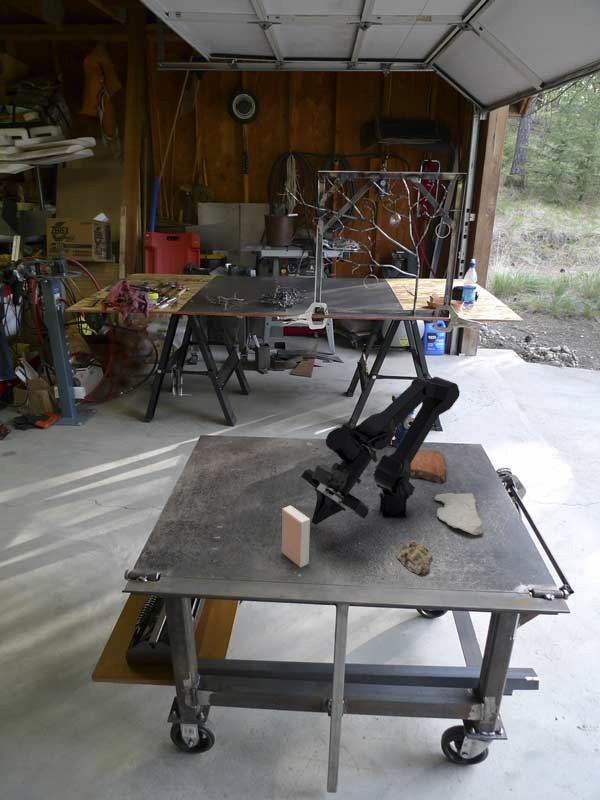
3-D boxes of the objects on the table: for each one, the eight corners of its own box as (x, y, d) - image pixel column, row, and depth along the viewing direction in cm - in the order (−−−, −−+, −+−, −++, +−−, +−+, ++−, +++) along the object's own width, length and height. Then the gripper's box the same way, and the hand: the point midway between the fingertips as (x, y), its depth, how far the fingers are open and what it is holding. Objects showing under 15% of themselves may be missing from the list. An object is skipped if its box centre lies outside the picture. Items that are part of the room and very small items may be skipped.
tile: (289, 548, 142) (290, 505, 137) (308, 563, 137) (310, 519, 132) (281, 552, 140) (281, 508, 136) (299, 567, 135) (301, 522, 131)
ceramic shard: (398, 440, 186) (446, 452, 184) (393, 459, 188) (440, 471, 186) (396, 456, 172) (448, 469, 170) (391, 476, 174) (442, 489, 172)
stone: (471, 486, 165) (498, 523, 146) (470, 499, 166) (497, 537, 147) (425, 490, 165) (447, 527, 146) (425, 503, 166) (446, 541, 147)
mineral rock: (391, 540, 142) (423, 531, 142) (394, 555, 144) (426, 546, 144) (403, 571, 132) (438, 561, 132) (406, 586, 134) (441, 576, 134)
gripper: (307, 438, 142) (269, 493, 140) (363, 469, 129) (322, 530, 127) (331, 458, 150) (295, 510, 148) (385, 489, 137) (347, 547, 134)
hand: (313, 523), depth 139 cm, fingers closed
